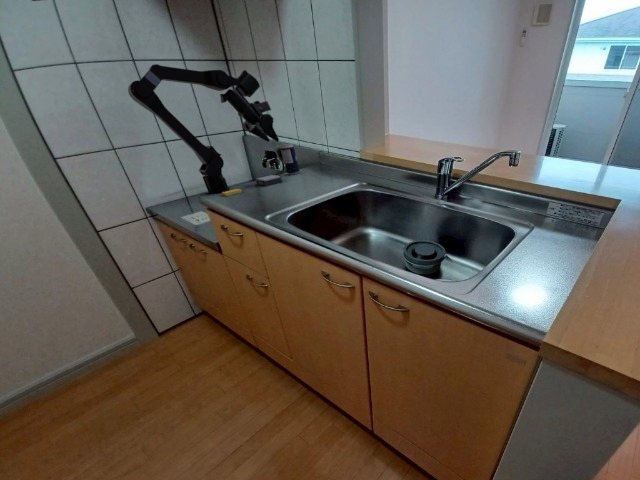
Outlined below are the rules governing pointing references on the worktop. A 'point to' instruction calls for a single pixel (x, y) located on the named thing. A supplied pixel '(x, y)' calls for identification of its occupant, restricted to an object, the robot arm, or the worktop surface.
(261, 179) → the kitchen scale
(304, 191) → the worktop surface
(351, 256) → the worktop surface
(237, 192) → the sponge
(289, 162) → the beverage can
